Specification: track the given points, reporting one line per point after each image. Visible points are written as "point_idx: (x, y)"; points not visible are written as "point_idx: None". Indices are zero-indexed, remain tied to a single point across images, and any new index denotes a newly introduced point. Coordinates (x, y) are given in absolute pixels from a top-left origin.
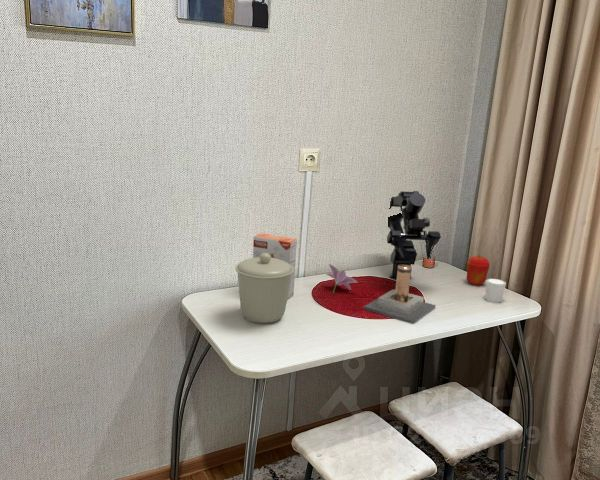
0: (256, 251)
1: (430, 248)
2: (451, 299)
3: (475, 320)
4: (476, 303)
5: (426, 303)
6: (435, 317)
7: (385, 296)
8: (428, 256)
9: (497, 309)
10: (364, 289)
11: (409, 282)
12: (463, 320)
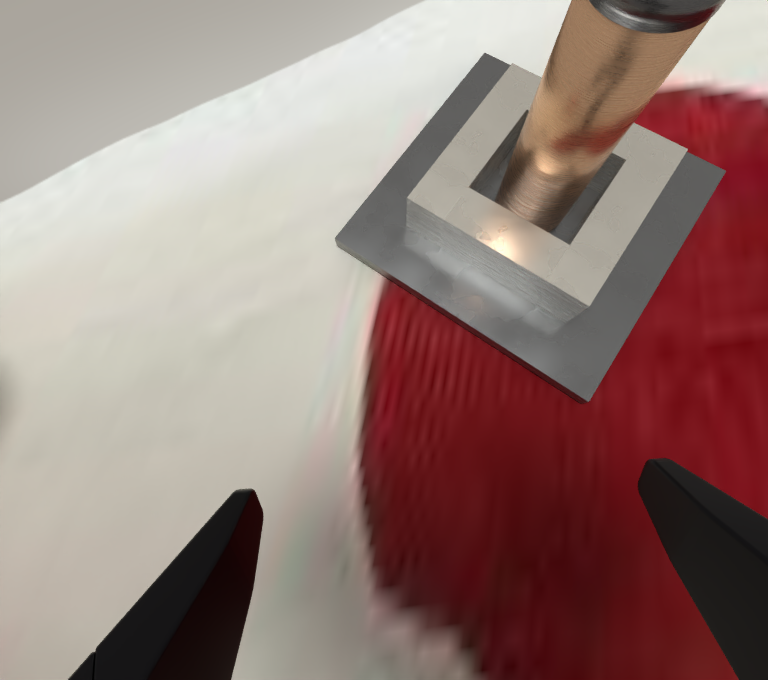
0: None
1: (112, 659)
2: (203, 383)
3: (192, 136)
4: (84, 340)
5: (378, 255)
6: (366, 141)
7: (643, 176)
8: (248, 501)
9: (15, 273)
10: (739, 490)
11: (547, 64)
12: (247, 128)
